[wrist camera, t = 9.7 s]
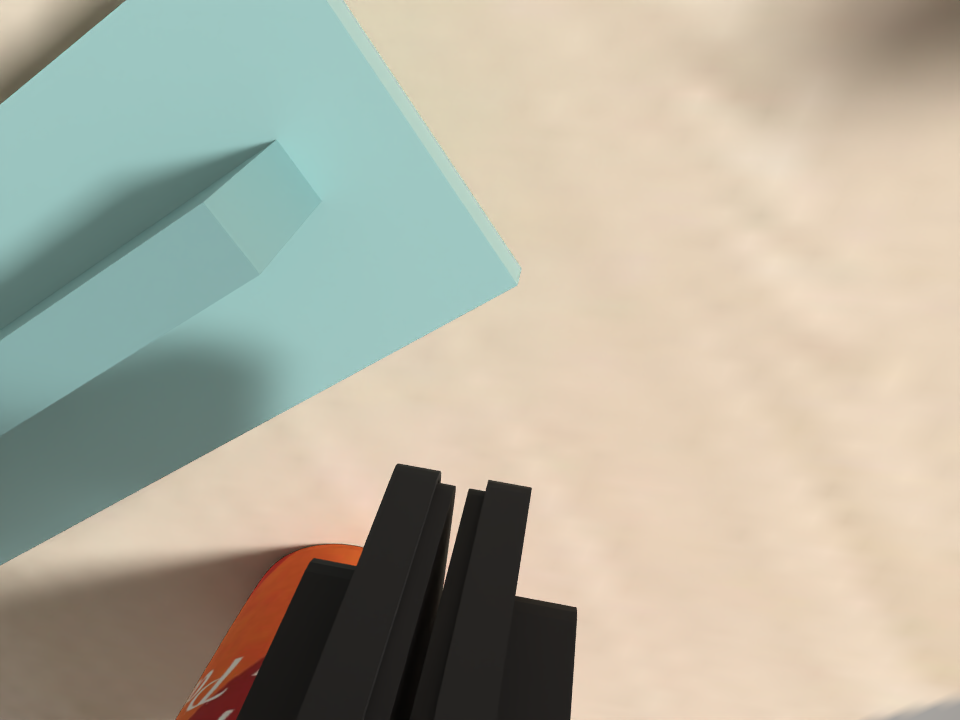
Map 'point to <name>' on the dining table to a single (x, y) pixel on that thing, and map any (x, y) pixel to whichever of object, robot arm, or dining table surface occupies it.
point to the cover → (209, 242)
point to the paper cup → (254, 635)
